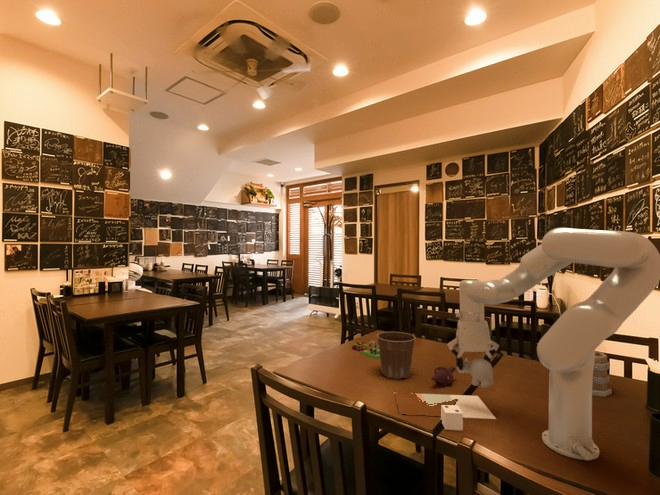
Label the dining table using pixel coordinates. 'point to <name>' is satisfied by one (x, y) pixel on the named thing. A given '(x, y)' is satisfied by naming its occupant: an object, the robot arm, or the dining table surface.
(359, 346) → the toy garden set
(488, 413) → the game mat
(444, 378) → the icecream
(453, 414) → the die
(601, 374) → the tankard
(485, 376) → the round bodied animal figurine
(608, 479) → the dining table surface
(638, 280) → the robot arm
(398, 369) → the plant pot
